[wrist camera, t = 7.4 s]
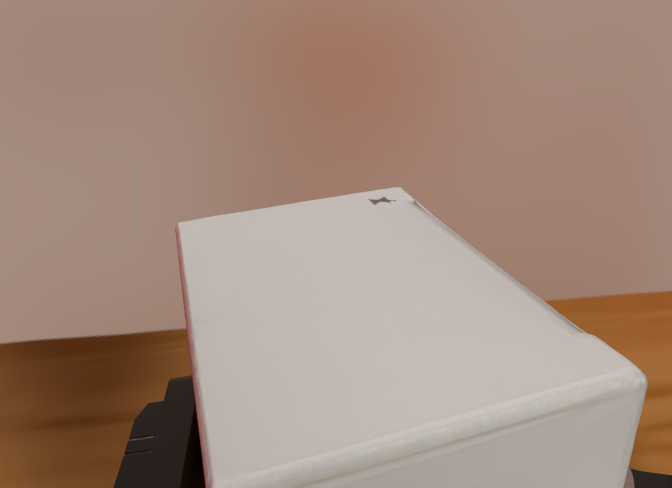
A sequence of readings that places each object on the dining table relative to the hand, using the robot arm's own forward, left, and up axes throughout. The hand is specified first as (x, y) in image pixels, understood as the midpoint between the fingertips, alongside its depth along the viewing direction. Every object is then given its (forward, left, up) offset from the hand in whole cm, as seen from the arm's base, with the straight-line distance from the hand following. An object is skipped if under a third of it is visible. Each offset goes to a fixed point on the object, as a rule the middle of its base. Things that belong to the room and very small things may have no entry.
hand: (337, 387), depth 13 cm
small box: (0, -2, -6) cm, 7 cm away
